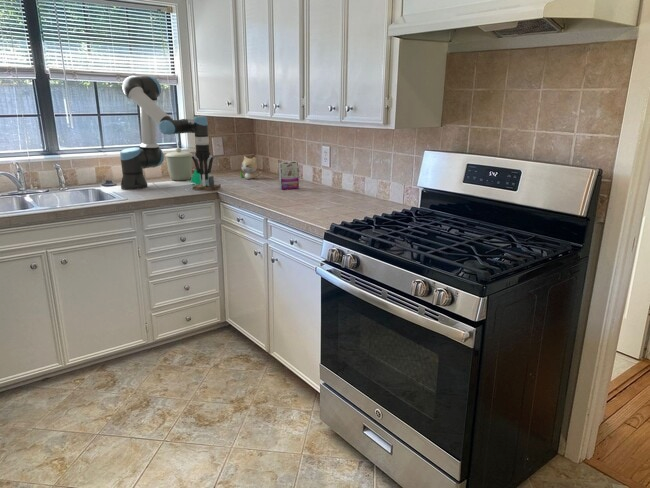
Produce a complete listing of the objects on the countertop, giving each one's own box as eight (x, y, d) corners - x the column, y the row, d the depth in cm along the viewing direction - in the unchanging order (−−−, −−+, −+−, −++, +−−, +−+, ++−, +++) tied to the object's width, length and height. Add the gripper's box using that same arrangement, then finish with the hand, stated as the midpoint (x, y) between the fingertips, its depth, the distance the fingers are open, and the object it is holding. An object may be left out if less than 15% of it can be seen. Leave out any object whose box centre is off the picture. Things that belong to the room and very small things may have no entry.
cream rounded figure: (235, 178, 328) (234, 156, 323) (245, 176, 336) (245, 154, 331) (252, 180, 320) (251, 158, 315) (262, 178, 328) (261, 156, 323)
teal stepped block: (207, 188, 281) (206, 177, 279) (200, 184, 292) (199, 173, 290) (217, 187, 284) (216, 176, 282) (210, 183, 295) (209, 172, 293)
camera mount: (213, 184, 308) (212, 168, 305) (205, 186, 301) (204, 169, 298) (199, 182, 313) (198, 166, 310) (190, 184, 307) (189, 168, 304)
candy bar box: (296, 187, 298) (296, 160, 293) (299, 188, 294) (298, 161, 289) (278, 188, 294) (278, 161, 289) (281, 190, 290) (280, 162, 285)
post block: (192, 190, 288) (191, 173, 285) (198, 187, 298) (197, 170, 295) (215, 190, 287) (214, 173, 284) (220, 187, 296) (219, 171, 293)
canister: (177, 176, 333) (174, 145, 327) (200, 178, 328) (197, 146, 322) (161, 181, 317) (157, 148, 311) (184, 182, 312) (182, 149, 305)
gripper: (188, 144, 272) (191, 186, 279) (211, 145, 270) (213, 186, 278) (193, 143, 279) (196, 183, 286) (215, 143, 278) (217, 184, 285)
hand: (204, 185), depth 282 cm, fingers closed
